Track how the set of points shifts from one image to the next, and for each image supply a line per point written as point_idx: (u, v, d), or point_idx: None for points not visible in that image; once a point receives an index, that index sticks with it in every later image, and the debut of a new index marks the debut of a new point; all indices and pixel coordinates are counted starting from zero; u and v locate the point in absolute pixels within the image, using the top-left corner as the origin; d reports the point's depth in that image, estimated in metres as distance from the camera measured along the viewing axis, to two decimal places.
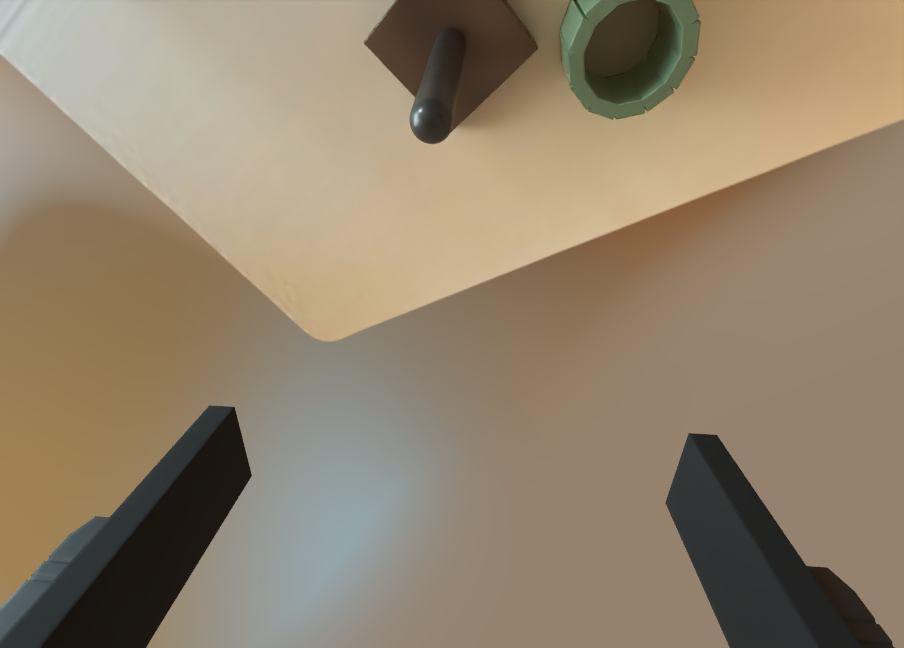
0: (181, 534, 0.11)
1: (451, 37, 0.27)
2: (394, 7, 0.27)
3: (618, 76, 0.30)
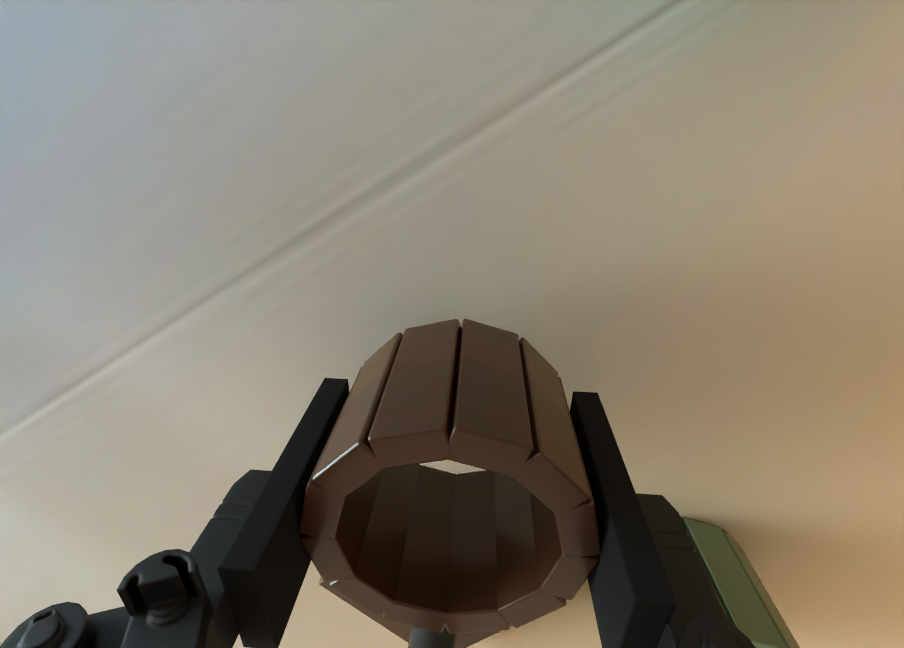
0: None
1: None
2: None
3: None
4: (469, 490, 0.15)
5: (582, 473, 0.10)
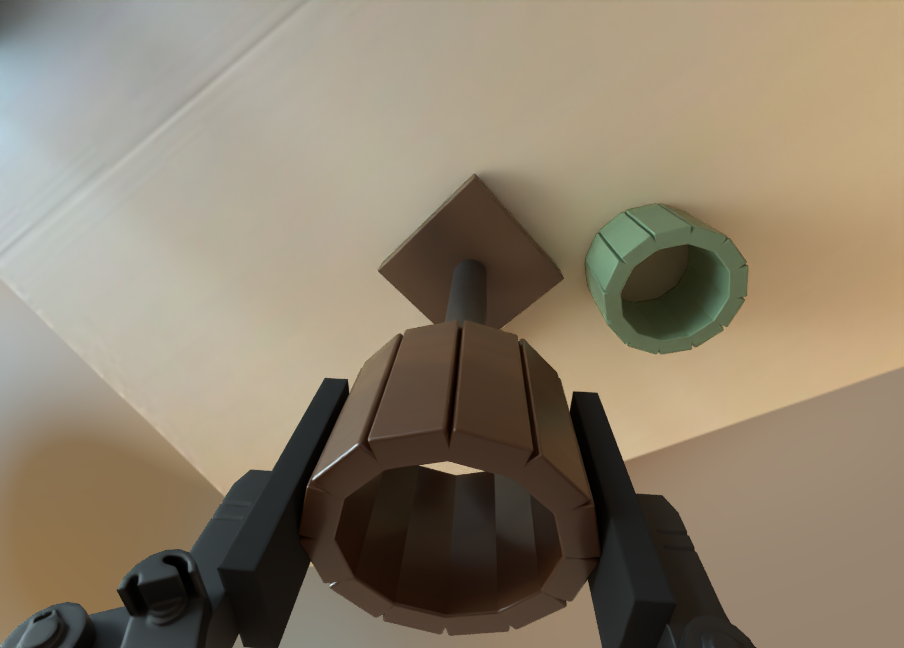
0: None
1: (473, 272, 0.25)
2: (412, 241, 0.26)
3: (650, 302, 0.28)
4: (469, 491, 0.15)
5: (582, 475, 0.10)
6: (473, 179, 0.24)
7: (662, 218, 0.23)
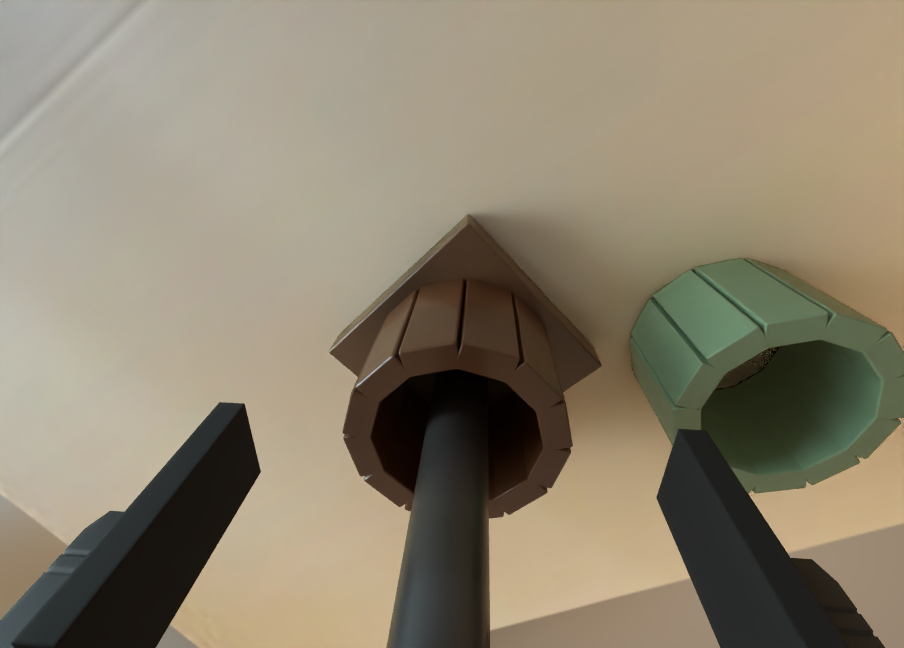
0: (194, 528, 0.11)
1: None
2: (377, 312, 0.18)
3: (723, 394, 0.19)
4: None
5: (557, 384, 0.13)
6: (467, 225, 0.16)
7: (766, 289, 0.15)
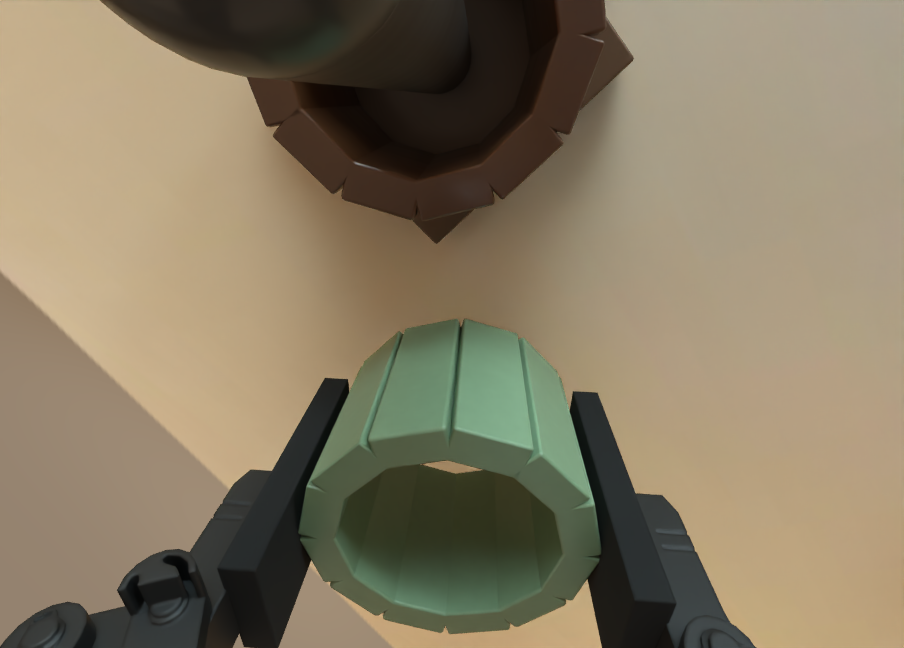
0: None
1: (468, 58, 0.11)
2: None
3: None
4: None
5: None
6: (631, 58, 0.13)
7: None
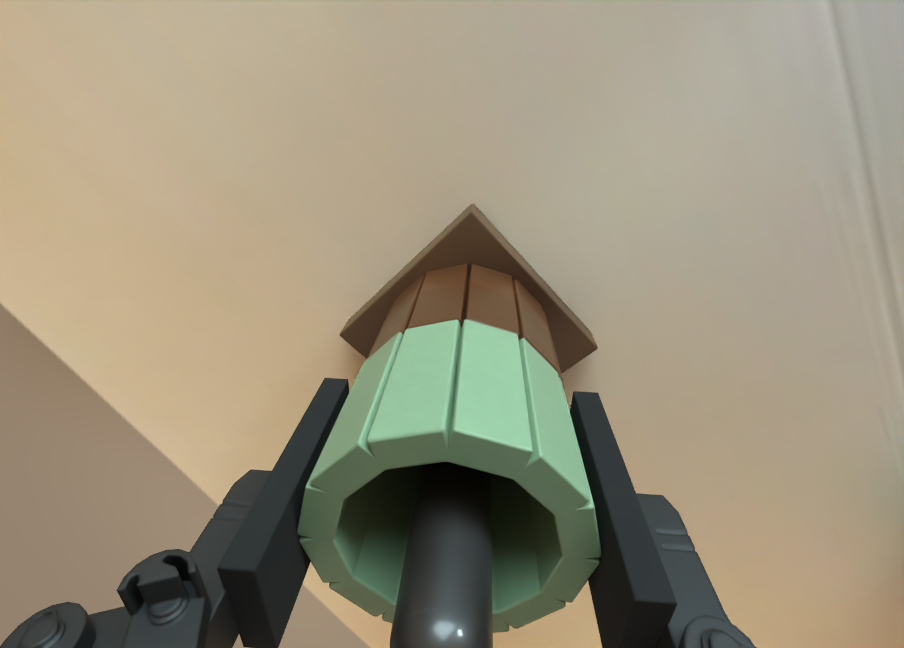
0: None
1: None
2: (519, 269, 0.18)
3: None
4: None
5: None
6: (595, 347, 0.19)
7: None
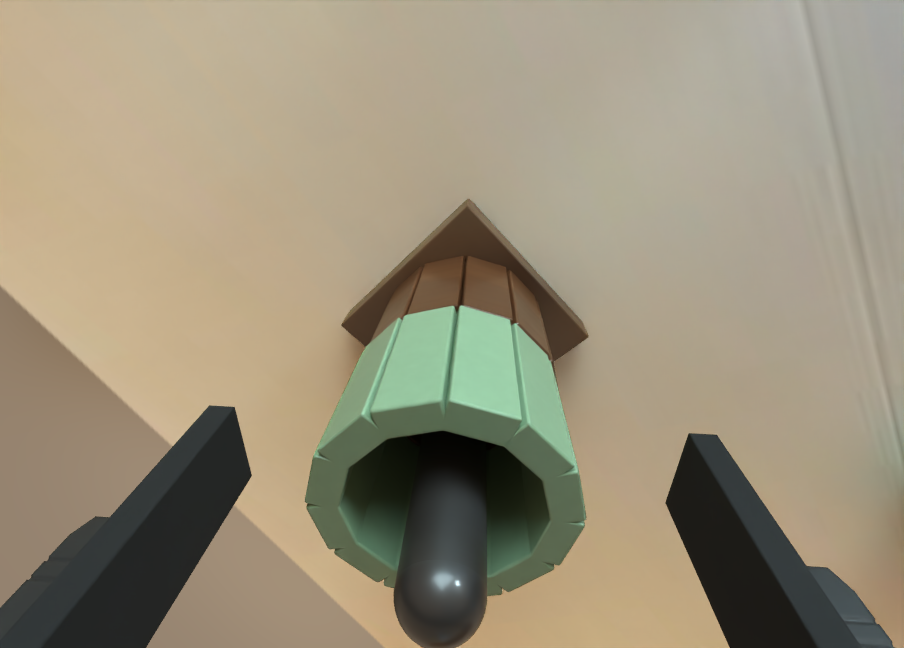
0: (181, 534, 0.11)
1: None
2: (512, 260, 0.19)
3: None
4: None
5: None
6: (586, 336, 0.20)
7: None
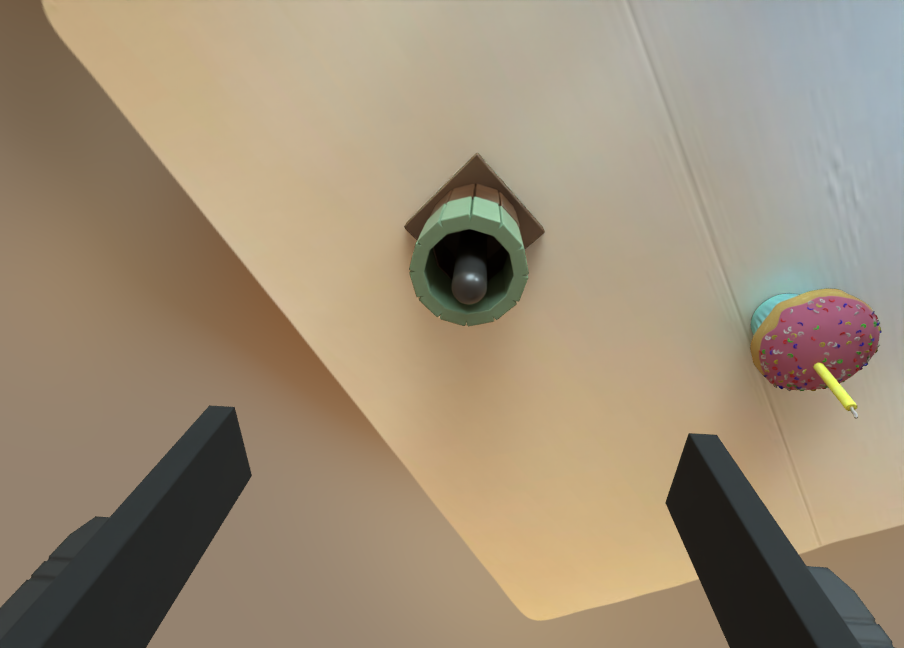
0: (181, 534, 0.11)
1: None
2: (501, 186, 0.34)
3: (435, 260, 0.31)
4: None
5: None
6: (543, 232, 0.35)
7: None
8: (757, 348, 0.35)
